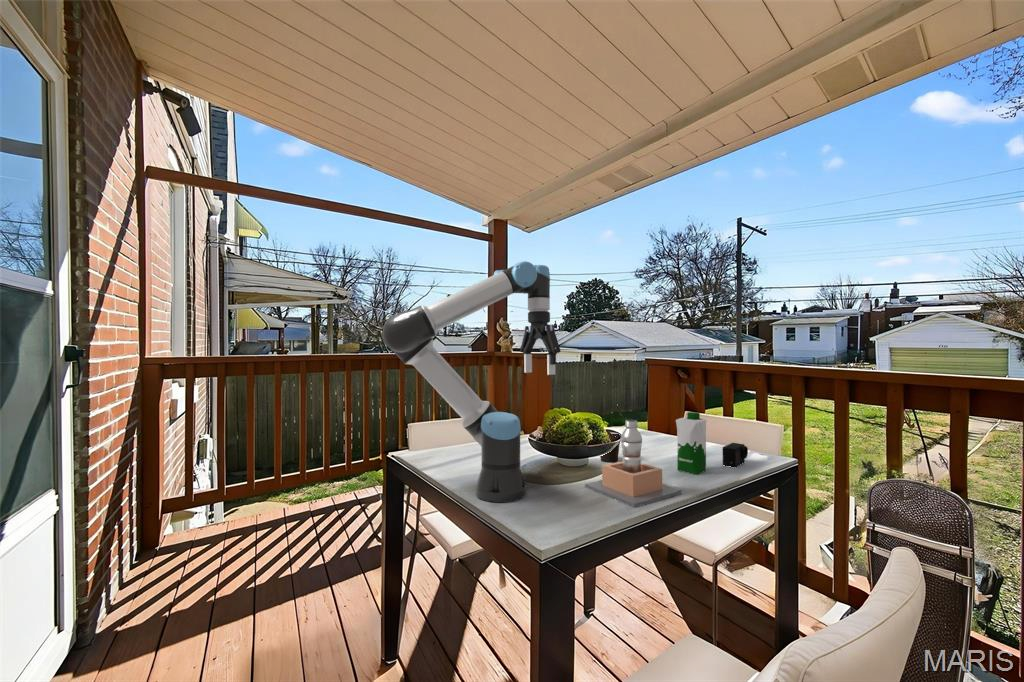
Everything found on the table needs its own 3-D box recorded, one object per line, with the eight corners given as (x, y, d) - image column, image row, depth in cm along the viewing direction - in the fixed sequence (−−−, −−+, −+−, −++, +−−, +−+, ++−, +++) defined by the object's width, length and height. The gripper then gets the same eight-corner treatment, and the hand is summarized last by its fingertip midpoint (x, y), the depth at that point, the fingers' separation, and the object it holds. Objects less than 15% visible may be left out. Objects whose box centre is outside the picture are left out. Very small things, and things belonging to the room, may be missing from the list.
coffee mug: (615, 464, 158) (614, 437, 158) (593, 461, 163) (593, 434, 163) (627, 458, 167) (627, 432, 167) (606, 454, 172) (606, 430, 172)
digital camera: (738, 469, 152) (738, 449, 152) (722, 466, 156) (722, 446, 156) (748, 463, 159) (748, 444, 159) (732, 460, 163) (732, 442, 163)
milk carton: (709, 470, 150) (708, 413, 150) (698, 476, 144) (697, 416, 144) (685, 465, 156) (684, 410, 156) (673, 470, 150) (672, 413, 150)
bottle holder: (634, 507, 116) (634, 481, 116) (584, 487, 133) (584, 464, 133) (681, 493, 127) (681, 470, 127) (630, 476, 144) (629, 455, 144)
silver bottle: (645, 485, 131) (644, 420, 132) (639, 491, 125) (639, 422, 126) (624, 482, 135) (624, 418, 135) (617, 487, 129) (617, 421, 129)
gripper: (571, 308, 137) (571, 375, 137) (527, 314, 158) (528, 371, 158) (552, 307, 133) (552, 376, 133) (510, 313, 154) (510, 372, 154)
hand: (539, 373), depth 145 cm, fingers open, 13 cm apart
